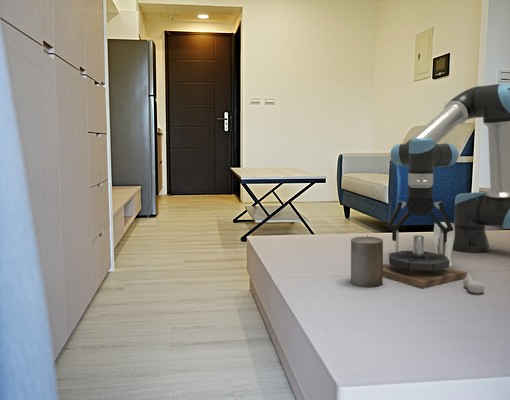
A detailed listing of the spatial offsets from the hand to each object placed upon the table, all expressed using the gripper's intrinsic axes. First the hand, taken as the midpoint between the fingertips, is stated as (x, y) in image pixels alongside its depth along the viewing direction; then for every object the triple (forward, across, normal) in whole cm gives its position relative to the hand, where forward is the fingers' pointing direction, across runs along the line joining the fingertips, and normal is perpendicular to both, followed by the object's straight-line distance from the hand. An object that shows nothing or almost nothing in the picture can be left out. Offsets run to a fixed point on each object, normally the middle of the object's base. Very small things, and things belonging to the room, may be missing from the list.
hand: (418, 251), depth 154 cm
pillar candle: (+8, -16, -12) cm, 22 cm away
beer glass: (+8, +10, +15) cm, 20 cm away
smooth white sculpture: (+8, +14, -14) cm, 21 cm away
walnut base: (+8, 0, 0) cm, 8 cm away
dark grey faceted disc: (+4, 0, 0) cm, 4 cm away
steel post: (+6, 0, 0) cm, 6 cm away
